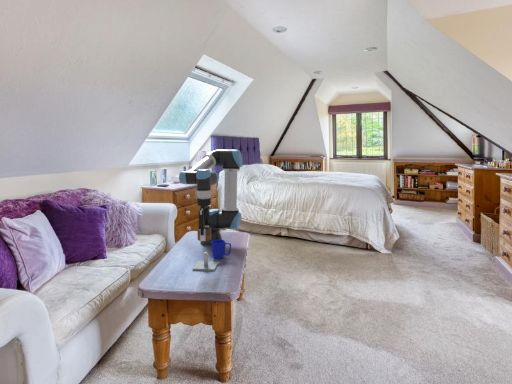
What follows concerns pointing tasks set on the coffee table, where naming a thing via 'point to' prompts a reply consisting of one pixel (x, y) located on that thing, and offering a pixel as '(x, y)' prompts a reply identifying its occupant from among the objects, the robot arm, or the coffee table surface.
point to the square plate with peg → (205, 264)
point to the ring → (207, 234)
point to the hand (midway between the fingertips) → (204, 238)
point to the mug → (219, 248)
